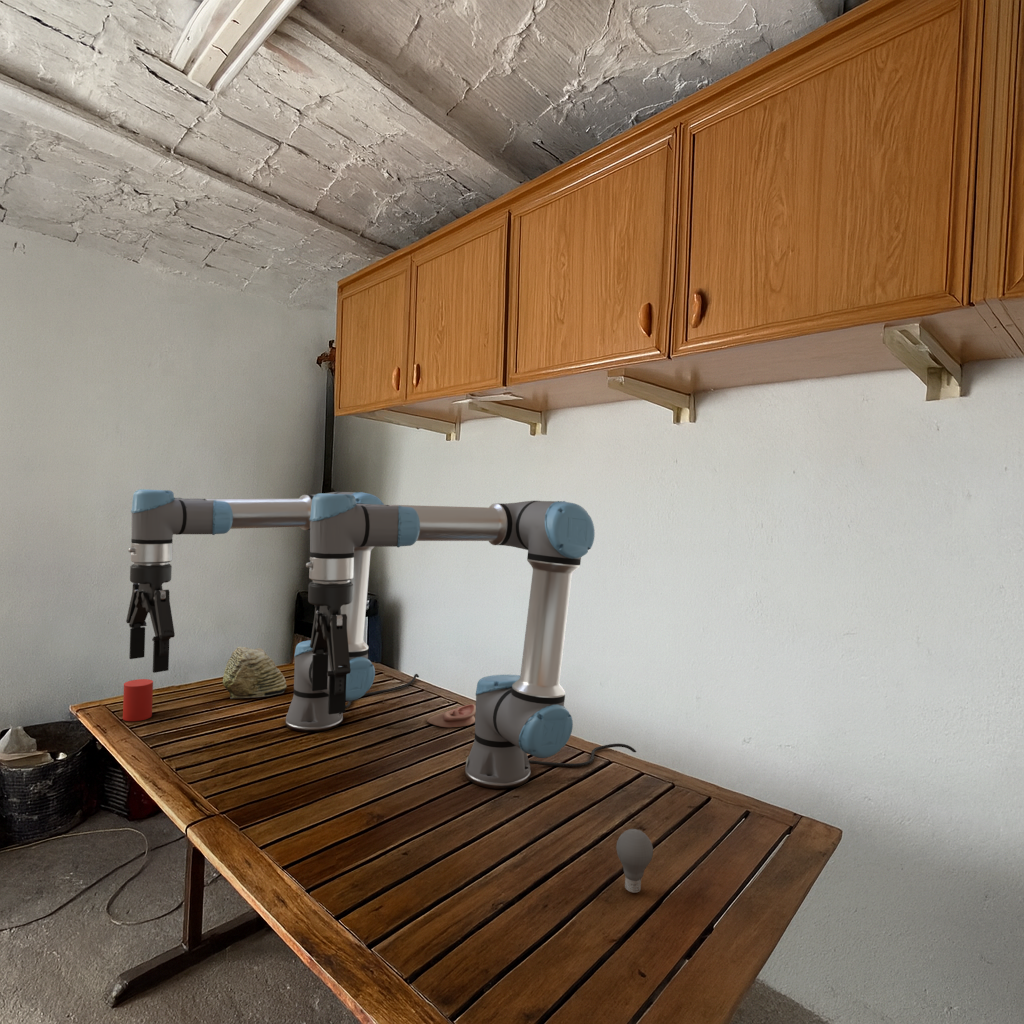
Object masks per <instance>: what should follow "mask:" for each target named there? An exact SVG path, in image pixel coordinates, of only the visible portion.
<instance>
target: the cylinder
mask: <svg viewBox="0 0 1024 1024" xmlns="http://www.w3.org/2000/svg"><path fill="white" fill-rule="evenodd" d="M153 690H154V681H153V679H148V678H138V679H133V680H128V681H126V682H124V683H123V696H122V697H123V698H122V699H123V702H122V720H123V721H126V722H141V721H144V720H145V721H146V720H148V719H150V718H152V716H153V699H154V697H153V694H154V691H153Z"/></svg>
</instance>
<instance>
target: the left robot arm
mask: <svg viewBox="0 0 1024 1024" xmlns="http://www.w3.org/2000/svg"><path fill="white" fill-rule="evenodd" d="M316 494H317V493H315V494H301V496H299V497H298V498H182V497H175V493H174V492H173V491H172V490H170V489H169V490H167V489H144V488H143V489H142V488H141V489H137V490H135V491H134V492H133V495H132V502H131V505H132V506H131V509H130V513H131V539H130V540H131V541H130V547H129V548H128V549H127V550H128V553H130V562H131V563H133V564H131V565H130V566H129V574H130V575H129V581H130V582H131V583H132V592H131V597H130V601H129V605H128V611H127V615H126V620H125V622H126V624H128V626H129V656H128V657H129V660H135V659H142V658H145V653H146V651H145V650H146V649H145V647H146V627H147V626H148V625H147V622H146V621H147V620H146V619H147V617H148V614H149V616H150V621H151V624H152V629H153V633H154V636H153V637H152V639H151V641H152V642H153V643H152V644H153V645H152V646H153V647H152V673H153V674H155V673H162V672H168V671H169V669H170V668H169V667H170V666H169V663H170V640H171V639H172V638H175V636H176V632H175V627H174V621H173V614H172V607H171V602H170V601H171V599H170V594H171V593H170V589H164V588H163V584H164V583H165V584H166V583H169V582H171V581H172V570H173V569H172V568H173V567H172V564H171V562H172V561H173V546H174V545H173V537H174V535H178V536H179V535H212V536H215V535H224V534H227V533H228V532H229V531H230V530H236V529H241V530H242V529H266V528H267V529H268V528H269V529H270V528H272V529H273V528H300V529H301V530H302V531H310V516H311V505H312V499H313V497H314V496H315V495H316ZM325 494H351V495H354V496H355V502H356V503H363V504H379V505H385V504H384V502H383V501H382V500H381V499H380V498H379V497H378V496H377V495H374V494H372V493H367V492H363V491H353V492H352V491H332V492H325ZM374 548H375V547H354V577H353V579H351V580H350V582H352V584H353V599H352V602H351V603H350V604H347V605H342V606H341V614H346V615H347V636H348V647H349V659H350V668H351V672H350V673H349V674H347V675H346V702H348V703H346V708H345V709H347V708H349V707H350V706H351V704H352V702H353V701H357V700H359V699H360V698H362V697H366V696H372V695H373V696H374V695H377V694H383V693H389V692H394V691H398V690H402V689H404V688H406V687H409V686H410V685H411V684H413V683H415V680H416V678H420V675H419V674H418V673H415V674H414V675H413V677H412V678H411V680H410V681H408V682H407V683H406V684H403V685H400V686H396V687H392V688H386V689H381V690H376V691H369V690H370V689H371V688H372V686H373V684H374V681H375V677H376V669H375V666H374V664H373V662H372V661H371V660H370V659H369V648H370V647H369V645H368V644H367V643H366V641H365V639H364V638H365V628H366V627H365V626H366V614H367V613H366V612H367V602H368V590H369V578H370V577H369V576H370V564H371V553H372V550H373V549H374ZM310 643H311V639H308V640H303V641H300V642H299V643H298V642H297V644H296V646H295V650H294V655H293V657H294V672H293V695H292V696H293V697H292V699H291V702H290V704H289V708H288V711H287V713H286V715H285V726H286V728H287V729H289V730H291V731H294V732H295V731H296V732H301V733H316V732H325V731H329V730H332V729H335V728H337V727H339V726H340V725H342V723H343V722H344V714H343V713H337V714H328V697H329V676H328V683H327V689H326V690H317V691H312V660H313V655H315V654H313V653H312V648H311V647H310ZM324 654H328V671H331V668H330V661H329V653H324ZM338 667H342V666H338ZM368 691H369V692H368Z"/></svg>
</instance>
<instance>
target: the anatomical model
mask: <svg viewBox="0 0 1024 1024" xmlns="http://www.w3.org/2000/svg"><path fill="white" fill-rule="evenodd" d="M475 712H476V704H474V703H469V704H465V705H462V706H458V707H456V708H455V707H454V708H453V709H450V710H447V711H444V712H440V713H437V714H434V715H432V716H431V717H430V716H429V718H427V720H426V722H427V723H428V724H431V725H433V726H435V727H436V726H437V727H440V728H459V727H466V726H467V727H468V726H471V725H473V724H475Z"/></svg>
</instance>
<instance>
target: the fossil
mask: <svg viewBox="0 0 1024 1024" xmlns="http://www.w3.org/2000/svg"><path fill="white" fill-rule="evenodd" d="M222 676H223V677H222V685H223V687H224V688H225V690H226V691H228V693H229V698H230V699H250V698H264V697H271V696H275V695H281V694H284V693H285V691H286V689H287V687H288V686H287V680H286V678H285V676H284V674H283V673H282V672H281V669H279V668H278V667H277V665H276V663H275V662H274V660H273V659H272V658H271V657H270V656H269V655H268V654H267V653H266V652H265V650H264V649H263V648H260V647H258V648H251V647H247V646H246V647H245V646H238V647H237V648H236V649H235V650H233V651H232V653H231V656H230V657H229V659H228V660H227V663H226V666H225V668H224V671H223V675H222Z"/></svg>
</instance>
